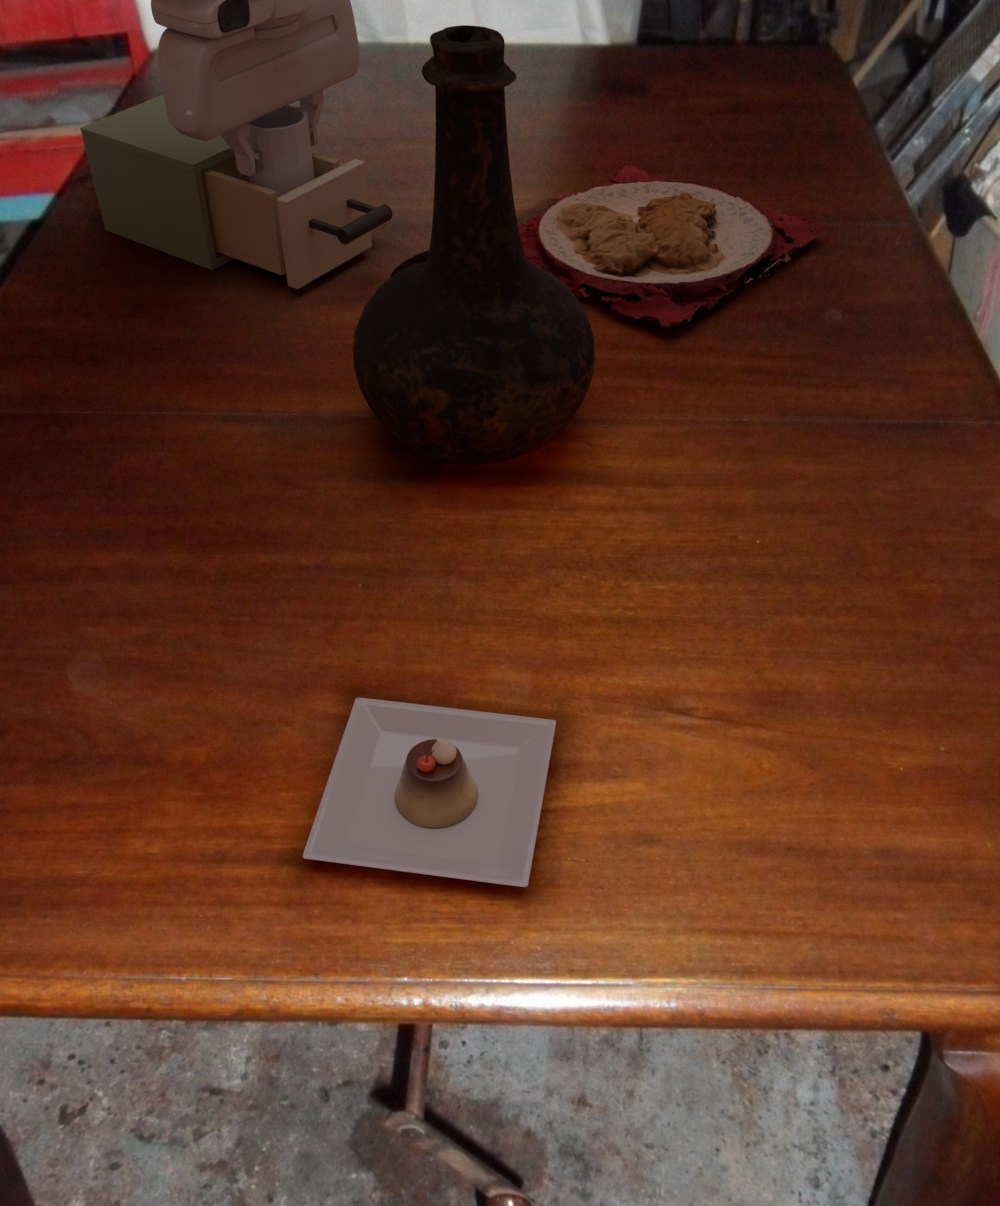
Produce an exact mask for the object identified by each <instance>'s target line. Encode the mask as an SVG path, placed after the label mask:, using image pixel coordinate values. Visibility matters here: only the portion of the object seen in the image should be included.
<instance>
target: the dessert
mask: <svg viewBox="0 0 1000 1206" xmlns="http://www.w3.org/2000/svg"><path fill="white" fill-rule="evenodd" d="M556 726H557V721H556V720H555V719H552V718H551V719H550V718H549V719H548V718H542V717H541V718H540V717H534V716H533V717H532V716H524V715H514V714H507V713H498V712H497V713H496V712H490V711H481V710H472V709H464V708H463V709H462V708H456V707H455V708H454V707H445V706H439V705H430V704H429V705H428V704H419V703H411V702H404V701H403V702H402V701H394V700H384V699H378V698H377V699H375V698H368V697H356V698H355V699H354V703H353V706H352V708H351V711H350V714H349V717H348V719H347V723H346V726H345V729H344V732H343V734H342V738H341V741H340V744H339V746H338V750H337V753H336V756H335V758H334V762H333V764H332V767H331V770H330V773H329V775H328V779H327V782H326V785H325V788H324V790H323V793H322V796H321V799H320V803H319V805H318V808H317V811H316V814H315V818H314V820H313V823H312V826H311V828H310V829H311V830H310V831H309V835H308V838H307V841H306V844H305V847H304V850H303V853H302V858H303V859H306V860H312V861H321V862H328V863H336V864H344V865H351V866H359V867H366V868H367V867H368V868H373V869H374V868H375V869H382V870H389V871H397V872H404V873H411V874H421V875H426V876H427V875H429V876H435V877H444V878H449V879H450V878H451V879H457V880H458V879H459V880H466V881H474V882H480V883H481V882H482V883H490V884H496V885H504V886H505V885H506V886H512V887H520V888H527V887H528V886H529V882H530V876H531V870H532V866H533V865H532V864H533V858H534V853H535V846H536V842H537V835H538V830H539V823H540V820H541V819H540V818H541V812H542V808H543V800H544V795H545V789H546V784H547V777H548V772H549V767H550V762H551V761H550V760H551V754H552V749H553V743H554V738H555V733H556Z"/></svg>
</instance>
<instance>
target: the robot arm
mask: <svg viewBox="0 0 1000 1206" xmlns="http://www.w3.org/2000/svg"><path fill="white" fill-rule="evenodd" d="M150 10H151V13H152V14H151V15H152V18H153V20H154V22H155V23H156V24H157V25H159V26H161V27H164V28H165V29H164V31H163V32H162V34H161V35H160V37H159V41H158V45H157V46H158V48H157V60H158V67H159V77H160V84H161V90H162V95H163V96H164V101H165V106H166V111H167V115H168V118H169V121H170V123H171V124H172V125H173V126H174V128H175V129H176V130H177V131H178V132H179V133H181V134H183V135H186V136H189V137H191V138H195V139H198V140H202V141H208V140H210V139H213V138H215V137H217V136H219V135H221V136H222V137H223V138H224V140H225V141H226V142H227V144H228V145H229V147H230V148H231V149H232V151H233V152H235V158H236V164H237V169H238V171H239V172H240V173H241V174H243V175H246V176H249V177H250V176H253V175H254V174H257V173H259V172H260V171H262V170H263V168H264V167H263V163H262V153H261V151H259V150H256V149H252V148H251V146H250V145H249V143H248V141H247V140H246V138H245V136H248V135H249V134H250V131H249V122H251V121H253V120H255V119H258V118H260V117H262V116H264V115H267V114H269V113H271V112H273V111H276V110H278V109H280V108H282V107H285V106H287V105H291V104H294V103H296V102H299V106H298V107H299V108H302V109H303V110H304V111H306V112H307V116H308V124H309V133H310V142H311V148H312V147H313V148H314V147H315V146H317V145H318V144H319V133H318V126H317V125H318V124H319V120H320V118H321V114H322V110H323V106H324V104H325V98H324V97H325V96H324V90H325V89H328V88H329V87H332V86H334V85H336V84H339V83H342V82H343V81H345V80H348V79H350V78H352V77H354V76H355V75H356V74H357V72H358V68H359V66H360V61H361V54H360V47H359V46H360V45H359V38H358V32H357V26H356V20H355V15H354V10H353V6H352V1H351V0H150Z"/></svg>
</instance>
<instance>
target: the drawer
mask: <svg viewBox="0 0 1000 1206" xmlns="http://www.w3.org/2000/svg"><path fill="white" fill-rule="evenodd" d="M312 160H313V169H314V177H315V179H314V180H312V181H310V182H308V183H306V184H304V185H302V186H300V187H298V188H296V189H294V190H292V191H290V192H288V193H286V194H284V195H282V196H280V197H278V198H277V192H276V191H274V190H271V189H268V188H265V187H262V186H259V185H256V184H253V183H250V179H249V176H246V175H243V174H241V173H240V172H239V171H238V169H237V164H236V158H235V155H234V156H232V157H230V158H228V159H226V160H223V161H221V162H219V163H217V164H215V165H213V166H210V167H208V168H206V169H204V170H202V171H201V176H202V181H203V187H204V192H205V198H206V203H207V209H208V215H209V220H210V226H211V231H212V237H213V242H214V248H215V251H216V252H219V253H222V254H224V255H227V256H230V257H233V258H235V259H234V260H238V261H240V262H244V263H246V264H249V265H251V266H254V267H257V268H260V269H262V270H266V271H268V272H271V273H274V274H276V275H279V276H284V275H285V274H286V281H287V287H290V288H293V289H294V290H295V289H296V290H299V289H301V288H303V287H304V286H306V285H308V284H310V283H311V282H313V281H314V280H317V279H318V278H320V277H321V276H323V275H325V274H327V273H329V272H330V271H332V270H334V269H336V268H337V267H339V266H340V265H343V264H344V263H346V262H347V261H349V260H351V259H353V258H355V257H356V256H359V255H360V254H362V253H363V252H365V251H366V250H368V249H370V248H372V247H373V243H372V231H373V230H374V229H376V228H378V227H380V226H382V225H384V224H385V223H387V222H389V221H391V220H392V218H393V210H392V208H391V207H390V205H388V204H385V203H383V204H381V205H379V206H374V205H371V204H370V203H369V194H368V193H369V192H368V181H367V169H366V168H367V167H366V161H364V160H362V159H361V160H360V159H357V158H354V159H352V160H350V161H348V162H346V163H344V164H341V165H340V161H339V159H336V158H333V157H329V156H327V155H323V154H320V153H316V152H313V151H312Z"/></svg>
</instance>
